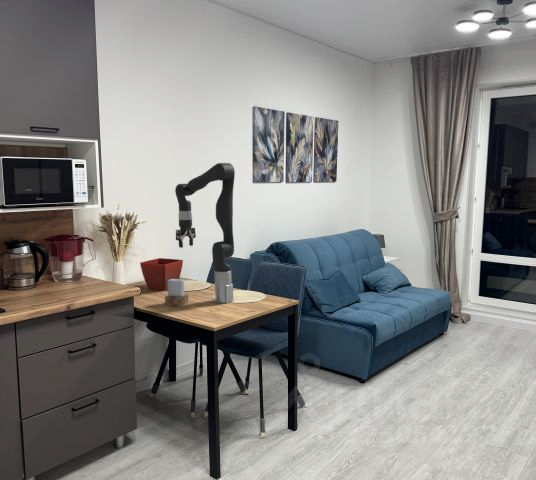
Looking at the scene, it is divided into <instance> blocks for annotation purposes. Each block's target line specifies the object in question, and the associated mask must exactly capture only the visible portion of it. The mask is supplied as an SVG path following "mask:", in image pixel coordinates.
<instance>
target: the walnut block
mask: <svg viewBox="0 0 536 480" xmlns="http://www.w3.org/2000/svg"><path fill="white" fill-rule="evenodd" d="M188 303H189V294H188V293H185V295H184V296H182V297H177V296H168V295H165V297H164V305H165V306H170V307H171V306H172V307H178V308H179V307H182V306H183V305H187V304H188Z"/></svg>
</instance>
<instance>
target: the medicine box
mask: <svg viewBox="0 0 536 480" xmlns="http://www.w3.org/2000/svg"><path fill="white" fill-rule="evenodd" d="M185 294H186V293H185V279H180V278H179V279H170V280H168V290H167V296H177V297H182V296H184V295H185Z"/></svg>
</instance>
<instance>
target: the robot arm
mask: <svg viewBox="0 0 536 480" xmlns="http://www.w3.org/2000/svg"><path fill="white" fill-rule="evenodd" d="M235 174H236V171H235V167H234V165H233V164H232V163H230V162H218V163H215V164H214V165H213V166H212V167H210V168H209V169H208V170H207V171H205V172H204V173H202V174H200V175H198V176H196V177H194V178H192V179H190V180H189V181H188V182H187V183H179V184H177V185H175V190H174V192H175V196H176V200H177V203H178V227H179V229H176V230H175V240H176V241H178V247H179V248H183V247H184V242H183V240H184V239H185V237H188V238H189V240H188V242H189V243H188V244H189V246H190V247H193V245H194V239H195V238H196V237H197V235H196V228H195V227H193V212H192V202H191V200H188V199H187V198H186V197H189V196H192V195H194V194H195V193H196V192H198V191H200V190H202V189H204V188H206V187H207V186H208V185H209V184H210V183H213V182H215V181H216V182H217V181H221V182H222V187H221V192H220V194H219V196H218V198H217V201H216V204H215V218H216V222H217V223H218V225H219V227H220V228H221V231H222V235H223V237H222V239H223V240H222V241H216V242H214V243H213V245H212V249H211V255H212V266H213V268H214V269H213V270H214V301H215V303H218V304H228V303H231V302H234V284H233V283H232V266H231V264H228V263H226V262H225V259H228V258H231V257H232V256H233V255H234V253H235V241H234V232H233V230H234V229H233V226H234V225H233V224H234V223H233V220H234V219H233V217H234V216H233V215H234V214H233V213H234V212H233V211H234V208H233V207H234V204H233V203H234V200H233V199H234V186H235V185H234V184H235V176H236V175H235ZM230 301H231V302H230Z"/></svg>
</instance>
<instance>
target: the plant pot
mask: <svg viewBox="0 0 536 480" xmlns="http://www.w3.org/2000/svg"><path fill="white" fill-rule="evenodd" d="M183 263H184V259H176V258H163V257H162V258H161V257H158V258H153V259H149V260H146V261H141V262H139V265H140V269H141V273H142V276H143V280H144V281H145V284H146V287H147V289H149V290H157V291H168V280H170V279H180V277H181V273H182V271H183Z"/></svg>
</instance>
